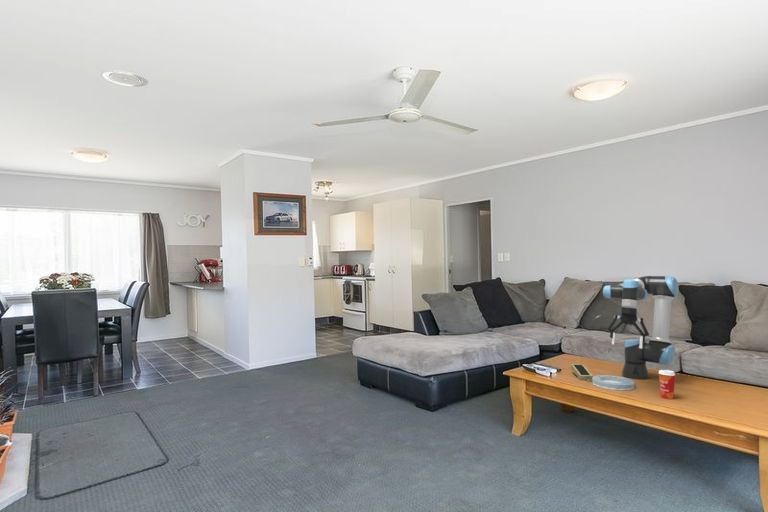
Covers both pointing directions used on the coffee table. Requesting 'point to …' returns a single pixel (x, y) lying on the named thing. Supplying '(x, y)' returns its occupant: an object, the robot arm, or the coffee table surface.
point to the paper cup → (666, 383)
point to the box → (582, 372)
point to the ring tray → (613, 382)
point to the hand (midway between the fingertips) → (626, 346)
